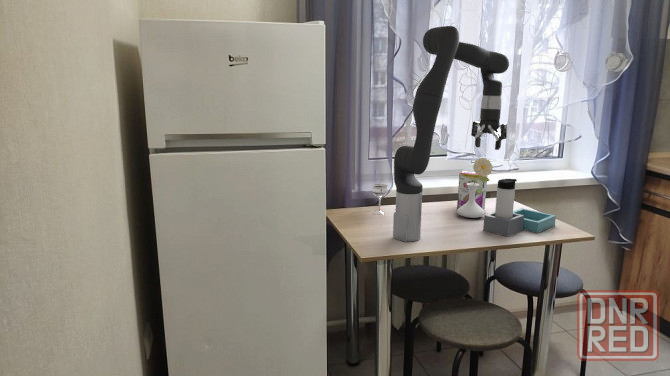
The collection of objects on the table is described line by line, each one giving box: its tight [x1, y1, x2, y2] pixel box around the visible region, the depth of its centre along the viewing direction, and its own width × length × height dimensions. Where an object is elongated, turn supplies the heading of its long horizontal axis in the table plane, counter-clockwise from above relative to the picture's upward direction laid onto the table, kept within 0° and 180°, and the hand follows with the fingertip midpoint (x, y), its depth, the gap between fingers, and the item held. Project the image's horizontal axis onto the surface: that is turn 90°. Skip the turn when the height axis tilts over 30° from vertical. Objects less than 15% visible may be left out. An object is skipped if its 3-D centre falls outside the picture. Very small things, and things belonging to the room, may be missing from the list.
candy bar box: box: [456, 170, 488, 211], centre depth 204 cm, size 11×5×16 cm, turn 58°
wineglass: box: [371, 183, 389, 215], centre depth 199 cm, size 7×7×12 cm
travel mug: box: [494, 178, 518, 220], centre depth 175 cm, size 6×7×20 cm
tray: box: [513, 208, 557, 234], centre depth 184 cm, size 14×14×4 cm
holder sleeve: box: [482, 211, 524, 237], centre depth 177 cm, size 11×10×6 cm
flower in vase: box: [456, 157, 494, 219], centre depth 192 cm, size 13×11×25 cm
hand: (487, 148), depth 187 cm, fingers open, 8 cm apart
